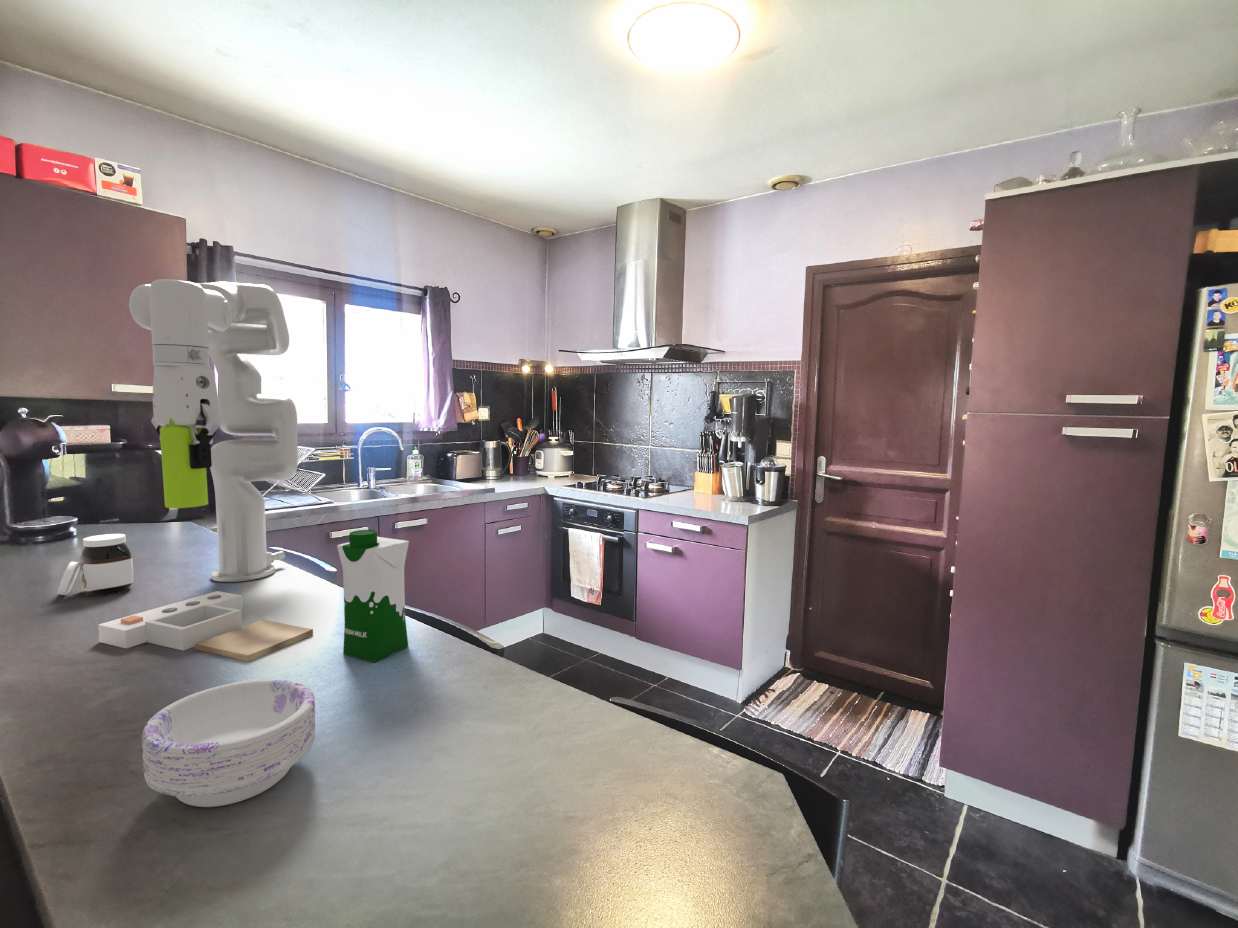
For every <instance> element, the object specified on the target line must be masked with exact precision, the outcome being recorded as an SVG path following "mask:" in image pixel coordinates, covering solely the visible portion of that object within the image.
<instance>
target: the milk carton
mask: <svg viewBox="0 0 1238 928" xmlns="http://www.w3.org/2000/svg"><path fill="white" fill-rule="evenodd" d="M348 535H349V539H348V540H349V542H344V543H341V544H340V543H339V544H338V545H337V552H338V556H339V559H340V564H341V568H342V574H343V575H342V576H343V577H342V578H343V609H344V611H343V614H344V627H343V628H344V631H343V652H342V653H343V655H345V656H348V657H352V658H357V659H360V660H364V661H368V662H371V663H376V662H379V661H381V660H383V659H385V658H387V657H389V656H391V655H393V654H396V653H398V652H399V651H402V650H405V649H406V648H408V647H409V640H408V631H407V623H406V602H405V601H406V599H405V598H406V597H405V595H406V594H405V563H406V558H407V554H408V553H407V552H408V548H409V544H410V540H405V539H396V538H390V537H383V536H382V537H381V536H378V531H377V530H374V529H361V530H360V529H359V530H354V531H350V532H349V534H348Z"/></svg>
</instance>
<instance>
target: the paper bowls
mask: <svg viewBox="0 0 1238 928" xmlns="http://www.w3.org/2000/svg"><path fill="white" fill-rule="evenodd" d="M315 737H316V697H315V694H314V692H313V691H312V690H311V689H310V688H309V687H307V686H306V685H305V684H302V683H300V682H297V681H292V680H288V679H287V680H286V679H284V680H283V679H276V678H275V679H274V678H273V679H272V678H271V679H252V680H244V681H237V682H230V683H227V684H222V685H219V686H218V685H217V686H213V687H211V688H207V689H204V690H203V689H202V690H201V691H197V692H195V693H192V694H189V695H187V696H185V697H181V698H180V699H178V700H176V701H174V702H172V703H171V704H168V705H167V706H165V707H164V708H161V709H160V710H158V711H157V712H156V713H155V714H154V715H153V716H152V717H150V719H149V720H148V721H147V722H146V723H145V726H144V727H143V730H142V735H141V742H142V743H141V746H142V764H143V765H142V769H143V775H144V776H143V777H144V780H145V783H146V785H148V787H149V788H150V789H152V791H155V792H158V793H161V794H164V795H167V796H172V797H175V798H176V799H178V800H179V801H180V802H182V803H183V804H186V805H189V806H193V807H199V808H213V807H215V808H217V807H222V806H228V805H232V804H235V803H240V802H242V801H245V800H248V799H251V798H253V797H255V796H257V795H260V794H261V793H264V792H265V791H267V790H268V789H270V788H271V787H273V786H274V785H276V784H277V783H278V782H280V781H281V780H282V779H283V777H284V776H286V775H287V773H288V772H289V771H290V769H291V767H292V766H294V765H296V764H297V763H298V762H300V761H301V760H302V759H303V758H304V757H305V756H306V755H308V753H309V752H310V750H311V748H312V746H313V744H314V742H315Z"/></svg>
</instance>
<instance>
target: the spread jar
mask: <svg viewBox="0 0 1238 928" xmlns="http://www.w3.org/2000/svg"><path fill="white" fill-rule="evenodd" d="M126 541H127V537H126V534H124V533H109V534H108V533H107V534H98V535H90V536H87V537H85V538H83V539H82V545H83V548H82V550H81V551H80V553H79V558H78V559H79V561H70V562H69V563H68V565H67V567H66V569H65V571H64V572H63V575H62V577H61V579H60V583H59V585H58V588H57V595H60V596H61V595H62V596H68V594H69V593H70V591H71V589H72V588H73V585H74V583H75V581H76V579H77V576H78V573H79V575H80V584H81V589H82V591H83V593H84V594H85V595H87V596H89V595H90V596H91V597H100V596H99V595H103V596H109V594H111V595H115V593H116V594H119V593H118V592H120V593H123V592H126V591H128V590H130V589H131V588H132V586H133V584H134V566H133V564H134V563H133V555H132V552H131V549H130V548H129V546H128V545H127V543H126ZM125 590H126V591H125ZM90 596H89V597H90Z"/></svg>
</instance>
